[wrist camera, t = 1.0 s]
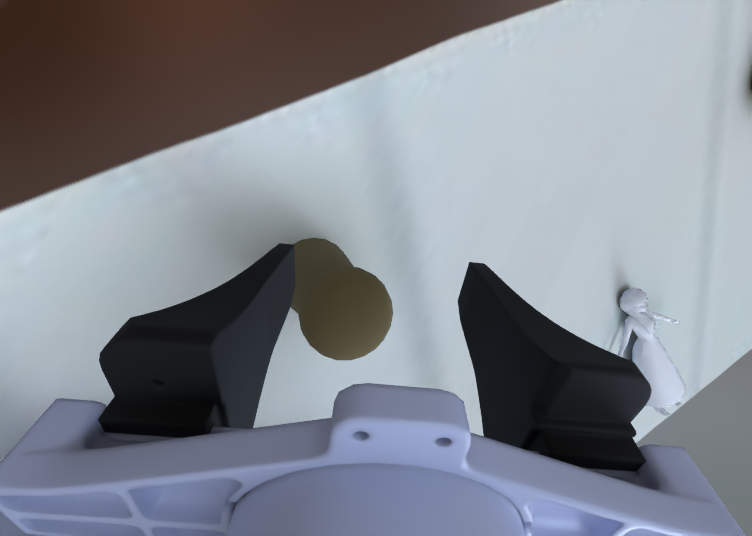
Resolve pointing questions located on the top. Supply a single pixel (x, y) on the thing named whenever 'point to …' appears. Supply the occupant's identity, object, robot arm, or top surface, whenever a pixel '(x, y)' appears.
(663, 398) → the woman figurine
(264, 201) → the top surface
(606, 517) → the robot arm
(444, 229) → the top surface
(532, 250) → the top surface
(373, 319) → the cork
